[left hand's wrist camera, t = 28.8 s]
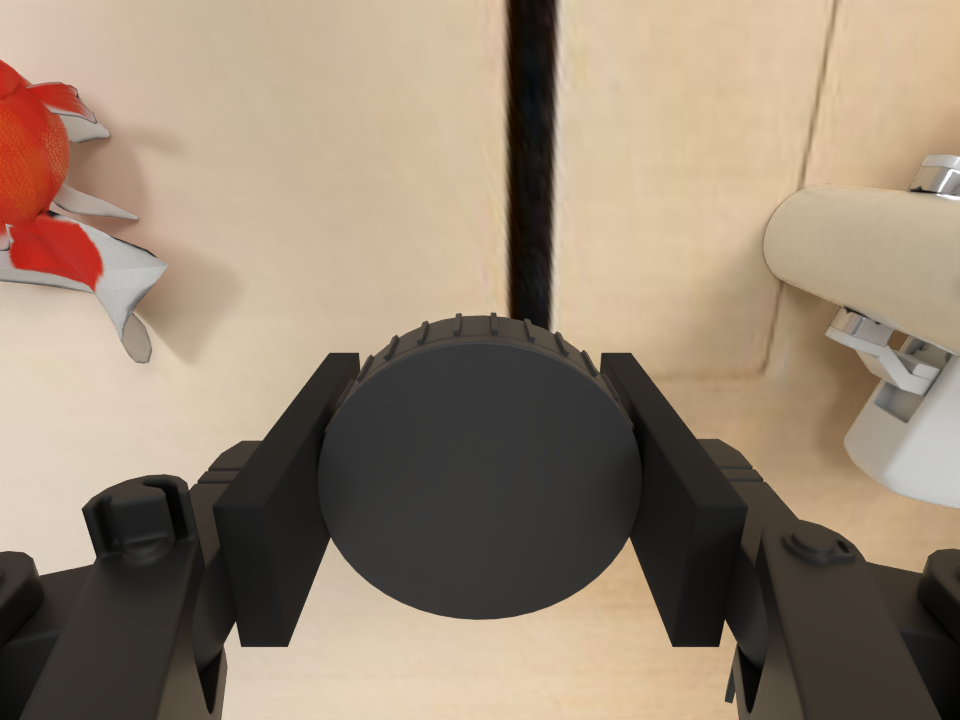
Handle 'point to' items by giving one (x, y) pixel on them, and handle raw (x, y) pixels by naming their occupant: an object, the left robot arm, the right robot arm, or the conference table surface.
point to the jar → (874, 255)
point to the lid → (479, 469)
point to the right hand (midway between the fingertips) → (881, 253)
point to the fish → (53, 237)
